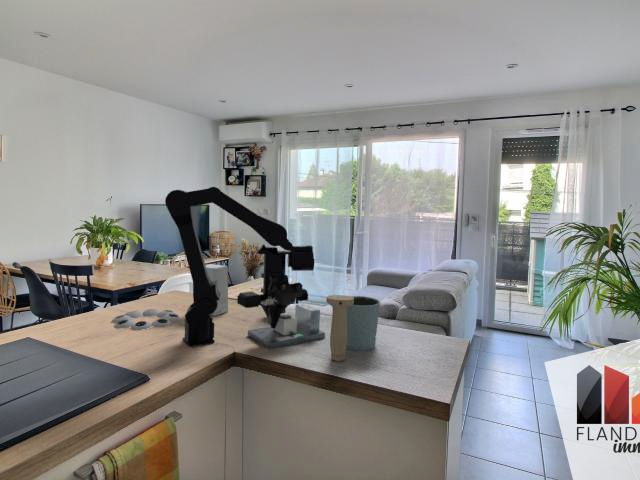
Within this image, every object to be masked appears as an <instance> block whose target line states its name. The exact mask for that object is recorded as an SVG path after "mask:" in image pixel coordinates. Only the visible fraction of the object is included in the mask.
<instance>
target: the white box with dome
mask: <svg viewBox="0 0 640 480" xmlns="http://www.w3.org/2000/svg"><path fill="white" fill-rule="evenodd" d="M273 330H275V331H277V332H279V333H280V334H282V335H288V334H292V335H296V333H297V318H295V316H292V315H291V314H288V313H286V312H285V313H284V314H281V315H280V317H279V320H278V322H277V325H276V328H274V329H273Z"/></svg>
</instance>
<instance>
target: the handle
mask: <svg viewBox="0 0 640 480" xmlns="http://www.w3.org/2000/svg"><path fill="white" fill-rule="evenodd" d="M326 303H327V304H328V305H330V306H331V308H332V316H331V324H330V333H329V335H330V336H329V337H330V338H329V346H330V358H331V360H332V361H335V362H337V363H338V362H342V361H344V360H345V357H346V356H345V355H346V354H345V353H346V351H347V347H346V345H347V307H349V306H351V305H352V304H353V303H354V297H352V296H351V295H340V294H332V295H327V296H326Z"/></svg>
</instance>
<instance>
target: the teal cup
mask: <svg viewBox="0 0 640 480" xmlns="http://www.w3.org/2000/svg"><path fill="white" fill-rule="evenodd" d="M352 297H354V303H353V304H352V305H351V306H349V307H347V345H346V349H350V350H353V351H370V350H372V349H375V346H376V343H377V341H376V340H377V337H376V336H377V332H378V323H379V322H378V321H379V313H380V308H381V307H380V306H381V301H380V300H379V299H377V298H374V297H370V296H362V295H354V296H352Z"/></svg>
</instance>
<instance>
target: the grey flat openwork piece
mask: <svg viewBox="0 0 640 480" xmlns="http://www.w3.org/2000/svg"><path fill="white" fill-rule="evenodd" d="M142 316H143V317H156V318H158V319H155V320H154V321H152V322H151V323H150V322H149V321H146V320H140V321H137V322H135V321H134V319H139V318H138V317H140V318H143V317H142ZM132 318H134V319H132ZM181 319H182V318H181V317H180V316H179V315H178V314H177V313H176V312H175V311H174V310H170V309H169V310H167V309H165V310H161V311H160V310H159V309H156V308H155V309H153V308H149V309H145V310H144V311H142V312H141V311H138V310H134V311H128V312H126V313H125V314H122V315H119V316H115V317H114V318H112V320H111V323H112V322H113V323H112V324H114V325H113V328H114V327H115V329H119V328H124V329H130V330H132V329H134V330H133V331H143V330H142V329H146V330H148V329H147V328H150V327H152V326H154V327H152V328H166V326H167V327H169V326H171V325H172V324H173V323H175V322H179V321H181ZM132 320H133V321H132ZM115 323H116V324H115ZM120 323H121V324H120ZM138 324H141V325H138ZM129 327H131V328H129ZM150 329H151V328H150Z"/></svg>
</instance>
